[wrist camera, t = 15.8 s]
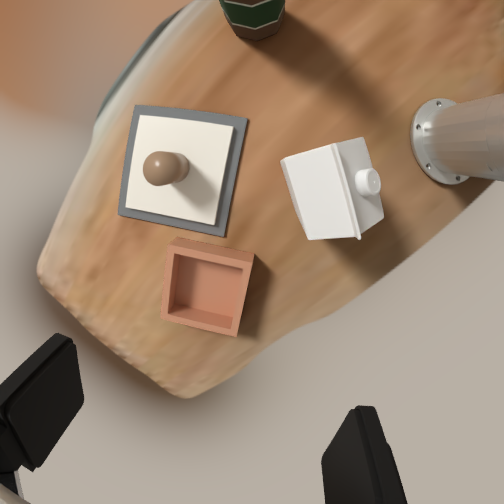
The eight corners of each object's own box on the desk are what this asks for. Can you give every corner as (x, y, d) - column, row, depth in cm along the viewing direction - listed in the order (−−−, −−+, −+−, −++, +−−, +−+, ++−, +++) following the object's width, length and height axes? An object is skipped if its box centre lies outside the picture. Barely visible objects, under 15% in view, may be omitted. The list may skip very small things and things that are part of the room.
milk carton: (295, 212, 40) (313, 253, 22) (279, 160, 38) (285, 157, 20) (346, 198, 39) (402, 226, 21) (331, 146, 37) (379, 132, 19)
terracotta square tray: (254, 253, 42) (252, 262, 38) (239, 322, 45) (236, 336, 41) (177, 236, 42) (167, 244, 38) (168, 306, 45) (160, 318, 41)
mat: (247, 118, 37) (247, 118, 37) (224, 236, 42) (223, 236, 41) (136, 105, 37) (134, 104, 37) (118, 214, 42) (117, 214, 41)
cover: (233, 127, 37) (225, 119, 31) (215, 223, 41) (203, 235, 34) (142, 115, 37) (119, 108, 31) (127, 206, 41) (104, 214, 34)
